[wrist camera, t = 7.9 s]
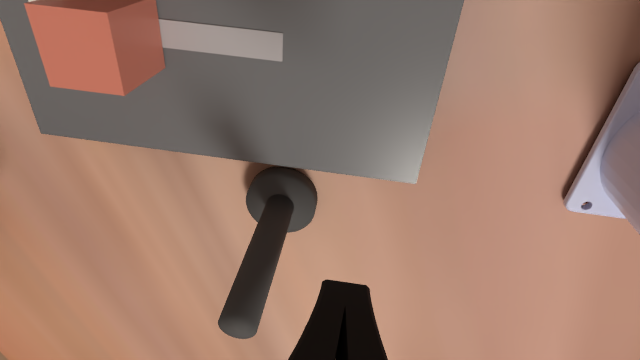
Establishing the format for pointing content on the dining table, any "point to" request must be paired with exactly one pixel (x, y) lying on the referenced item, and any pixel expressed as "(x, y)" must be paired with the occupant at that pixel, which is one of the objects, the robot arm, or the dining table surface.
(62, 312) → the dining table surface
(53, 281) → the dining table surface
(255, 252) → the post
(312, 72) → the breaker panel
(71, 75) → the knob
